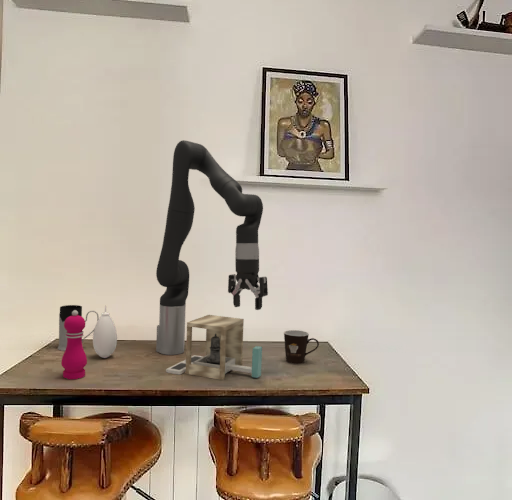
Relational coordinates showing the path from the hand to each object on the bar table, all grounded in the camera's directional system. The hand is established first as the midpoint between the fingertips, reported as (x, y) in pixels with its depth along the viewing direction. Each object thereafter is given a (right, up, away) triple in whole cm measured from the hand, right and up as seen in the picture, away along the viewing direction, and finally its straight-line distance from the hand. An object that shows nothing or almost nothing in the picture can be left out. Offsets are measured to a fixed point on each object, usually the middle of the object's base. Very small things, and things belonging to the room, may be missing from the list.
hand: (247, 308), depth 154 cm
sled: (-6, -20, 0) cm, 21 cm away
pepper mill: (-52, -20, -9) cm, 56 cm away
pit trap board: (-20, -20, +5) cm, 29 cm away
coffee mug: (+17, -21, +14) cm, 31 cm away
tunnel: (-11, -20, +2) cm, 23 cm away
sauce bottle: (-49, -18, +12) cm, 54 cm away
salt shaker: (-11, -20, +2) cm, 23 cm away
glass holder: (-62, -17, +22) cm, 68 cm away
